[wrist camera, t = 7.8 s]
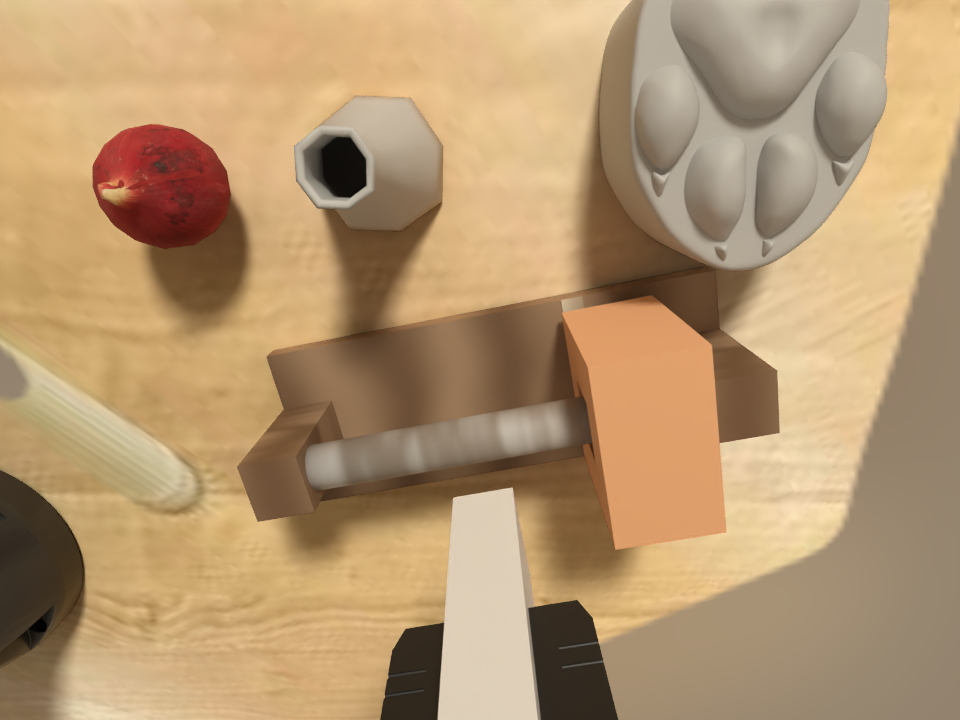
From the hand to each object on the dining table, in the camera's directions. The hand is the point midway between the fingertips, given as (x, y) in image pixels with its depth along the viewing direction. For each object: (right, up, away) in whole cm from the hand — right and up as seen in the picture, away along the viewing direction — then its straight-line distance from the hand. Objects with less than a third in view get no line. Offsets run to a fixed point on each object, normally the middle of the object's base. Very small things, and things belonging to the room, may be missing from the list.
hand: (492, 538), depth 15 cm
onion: (-16, +14, +18) cm, 28 cm away
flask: (-6, +15, +17) cm, 24 cm away
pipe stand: (+1, +3, +21) cm, 21 cm away
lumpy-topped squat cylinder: (+11, +17, +17) cm, 26 cm away
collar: (+8, +3, +19) cm, 20 cm away
